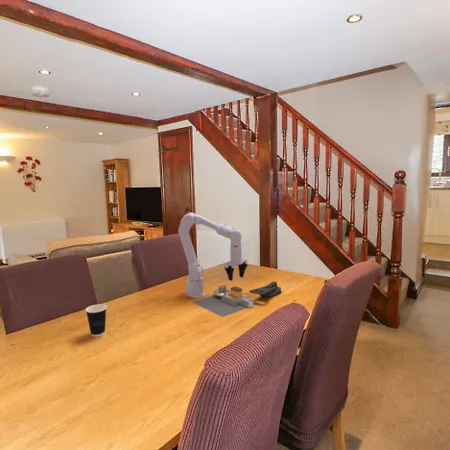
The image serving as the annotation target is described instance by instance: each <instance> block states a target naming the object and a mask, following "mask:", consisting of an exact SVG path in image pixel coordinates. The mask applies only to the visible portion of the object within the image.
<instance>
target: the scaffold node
mask: <svg viewBox="0 0 450 450" xmlns="http://www.w3.org/2000/svg"><path fill="white" fill-rule="evenodd" d="M213 295H215V296H218V297H221V301H223V302H225V303H227V304H230V305H232V306H234V307H235V306H238V305H242V306H244V307H247V308H246V309H251V308H254V306H253V301H254V300H252V299H250V295H249V294H246V293H243V292H242V297H239V298H234V297H232V296H231V289H228V288H227V286H226V285H219V286H218V289H215V290H213V291H212V296H213Z"/></svg>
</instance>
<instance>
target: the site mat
mask: <svg viewBox="0 0 450 450" xmlns="http://www.w3.org/2000/svg"><path fill="white" fill-rule="evenodd" d="M191 303H192V304H193V305H197V306H198V307H200V308H202V309H205V310H207V311H209V312H211V313H213V314H216V315H217V316H220V317H221V318H224V317H227V316H229V315H232V314H235V313H238V312H240V311H243V310H245V309H248V308H247V307H244V306H242V305H238V306H235V307H234V306H232V305H230V304H227V303H225V302H223V301H221V297H218V296H215V295H213V294H212V295H211V296H206V297H204V298H200V299H197V300H194V301H192V302H191ZM255 305H260V303H259V302H258V301H255V300H253V307H254V306H255Z"/></svg>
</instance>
